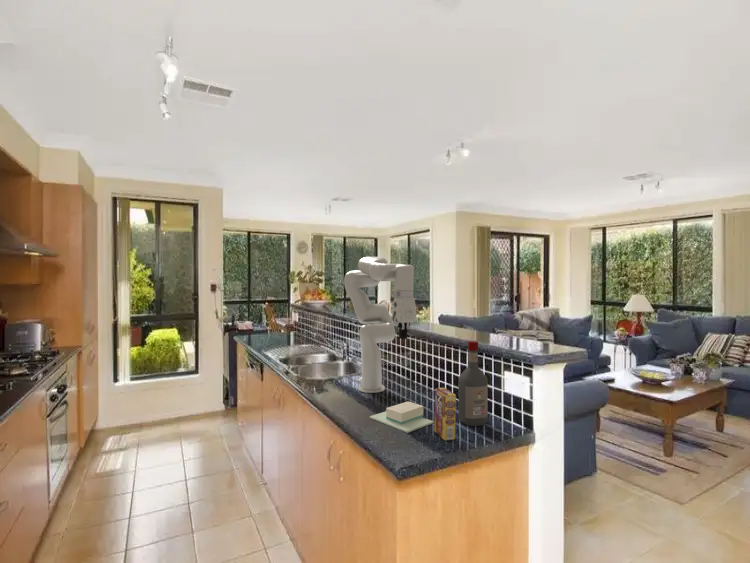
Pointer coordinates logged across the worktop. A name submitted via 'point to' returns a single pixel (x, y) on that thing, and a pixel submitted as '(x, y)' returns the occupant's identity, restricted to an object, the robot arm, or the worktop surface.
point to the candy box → (445, 413)
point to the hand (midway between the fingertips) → (403, 338)
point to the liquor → (473, 391)
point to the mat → (404, 427)
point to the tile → (404, 412)
